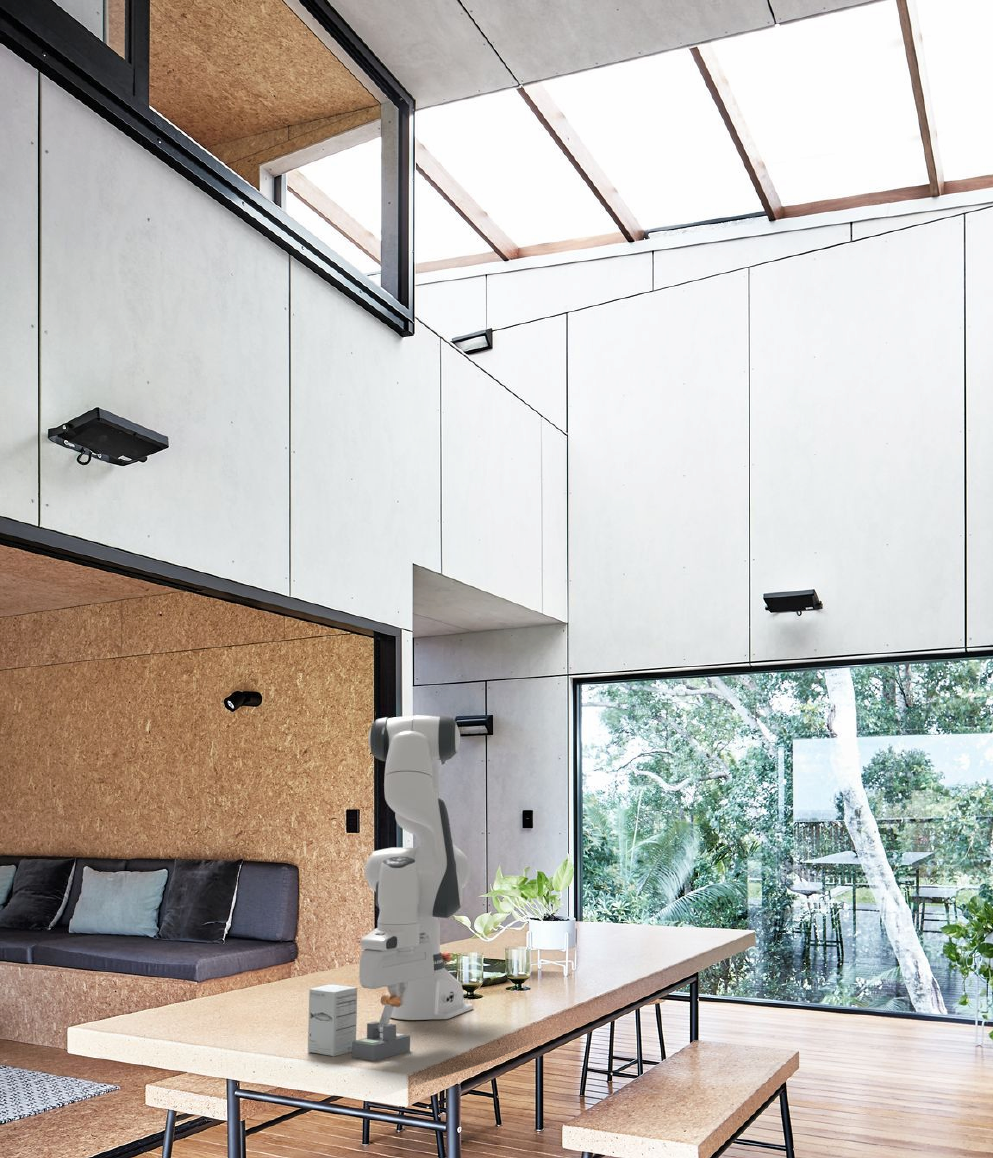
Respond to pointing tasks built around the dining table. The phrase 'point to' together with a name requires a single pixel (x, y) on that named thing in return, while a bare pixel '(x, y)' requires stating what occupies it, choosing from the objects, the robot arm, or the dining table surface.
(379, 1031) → the breaker lever
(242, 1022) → the dining table surface
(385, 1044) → the breaker housing
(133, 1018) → the dining table surface
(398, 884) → the robot arm
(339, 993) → the supplement box
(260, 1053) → the dining table surface
